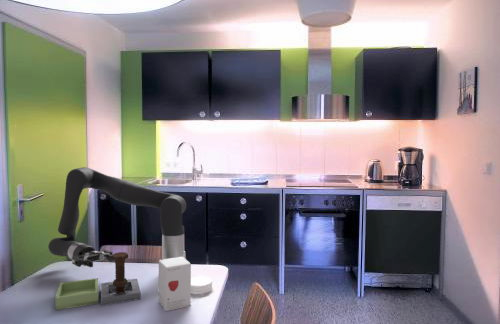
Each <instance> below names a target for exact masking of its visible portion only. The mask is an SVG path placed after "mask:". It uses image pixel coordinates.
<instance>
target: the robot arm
mask: <svg viewBox="0 0 500 324" xmlns="http://www.w3.org/2000/svg"><path fill="white" fill-rule="evenodd" d="M85 189H94V190H98V191H101V192H104V193H106V194H107V195H109V196H110V197H111V198H112V199H115V201H119V202H121V203H125V204H128V205H133V206H140V207H151V208H155V209H159V218H160V219H159V220H160V221H159V222H160V223H159V225H160V229H161V234H162V235H161V236H162V237H161V246H162V249H161V250H162V251H161V252H162V254H161V255H162V256H161V260H163V259H169V258H176V257H184V258H185V259H186V260H187V258H186V257H187V256H186V251H185V226H184V225H183V213H184V212H186V209H187V202H186V200H185V198H183V197H182V196H181V195H178V194H174V193H168V192H162V191H158V190H156V189H153V188H151V187H147V186H145V185H142V184H138V183H136V182H133V181H129V180H126V179H121V178H118V177H115V176H110V175H106V174H104V173H102V172H99V171H97V170H95V169H93V168H90V167H86V166H85V167H84V166H83V167H78V168H74V169H71V170H69V171H68V173H67V176H66V180H65V190H64V199H63V207H62V212H61V217H60V220H59V223H58V228H57V232H58V233H59V234H61V235H63V237H55V238H53V239H52V238H51V240H50V241H49V242H48V251H49V253H51V254H52V255H54V256H56V257H65V258H68V259H70V260H71V263H72V265H74V266H76V267H78V268H80V267H82V266H83V267H89V268H93V266H94V262H102V261H105V260H106V261H109V262H111V263H113V262H115V260H112V259H111V256H112V255H113V254H114V253H113V251H112V250H111V251H110V250H108V249H102V251H97V250H96V249H95V248H94V247H93V246H91V245H89V244H86V243H84V242H83V243H82V242H78V241H76V238H77V237H76V234H77V232H76V231H77V227H78V223H79V219H80V207H79V201H80V198H81V194H82V193H83V190H85ZM65 236H66V237H65Z"/></svg>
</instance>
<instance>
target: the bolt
mask: <svg viewBox="0 0 500 324" xmlns="http://www.w3.org/2000/svg"><path fill="white" fill-rule="evenodd" d="M111 259H112V260H114V264H115V266H114V267H115V278H114V280H113V281H112V282H113V285H114V286H115V287H116V290H115V293H121V292H126V289H125V285H126V284H127V280H128V279H127V278H126V276H125V275H126V273H125V270H126V269H125V267H126V266H125V263H126V259H129V254H128V252H123V251H119V252H115V253H112V256H111Z"/></svg>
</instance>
